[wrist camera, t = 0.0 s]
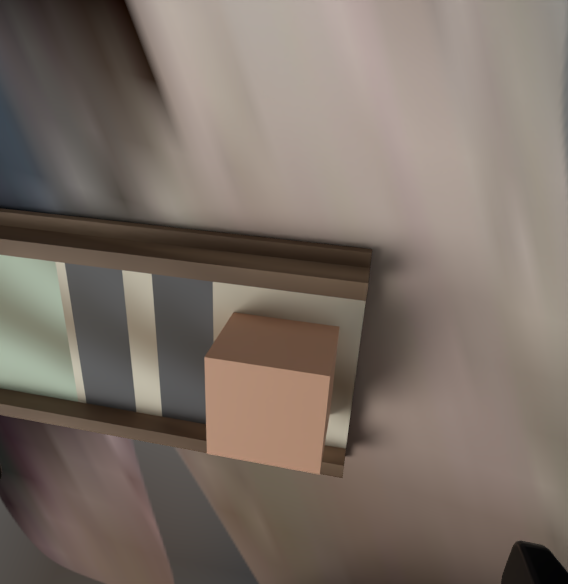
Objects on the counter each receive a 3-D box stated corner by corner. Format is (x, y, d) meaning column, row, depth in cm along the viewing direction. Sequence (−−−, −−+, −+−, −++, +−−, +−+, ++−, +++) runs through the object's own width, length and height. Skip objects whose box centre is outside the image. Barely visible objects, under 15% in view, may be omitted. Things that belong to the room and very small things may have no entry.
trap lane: (344, 457, 26) (340, 488, 24) (-14, 393, 29) (-42, 416, 28) (372, 249, 21) (370, 267, 19) (-64, 201, 24) (-103, 212, 22)
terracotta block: (329, 414, 24) (319, 474, 20) (233, 398, 25) (206, 453, 21) (339, 326, 22) (330, 376, 18) (233, 312, 23) (204, 357, 19)
